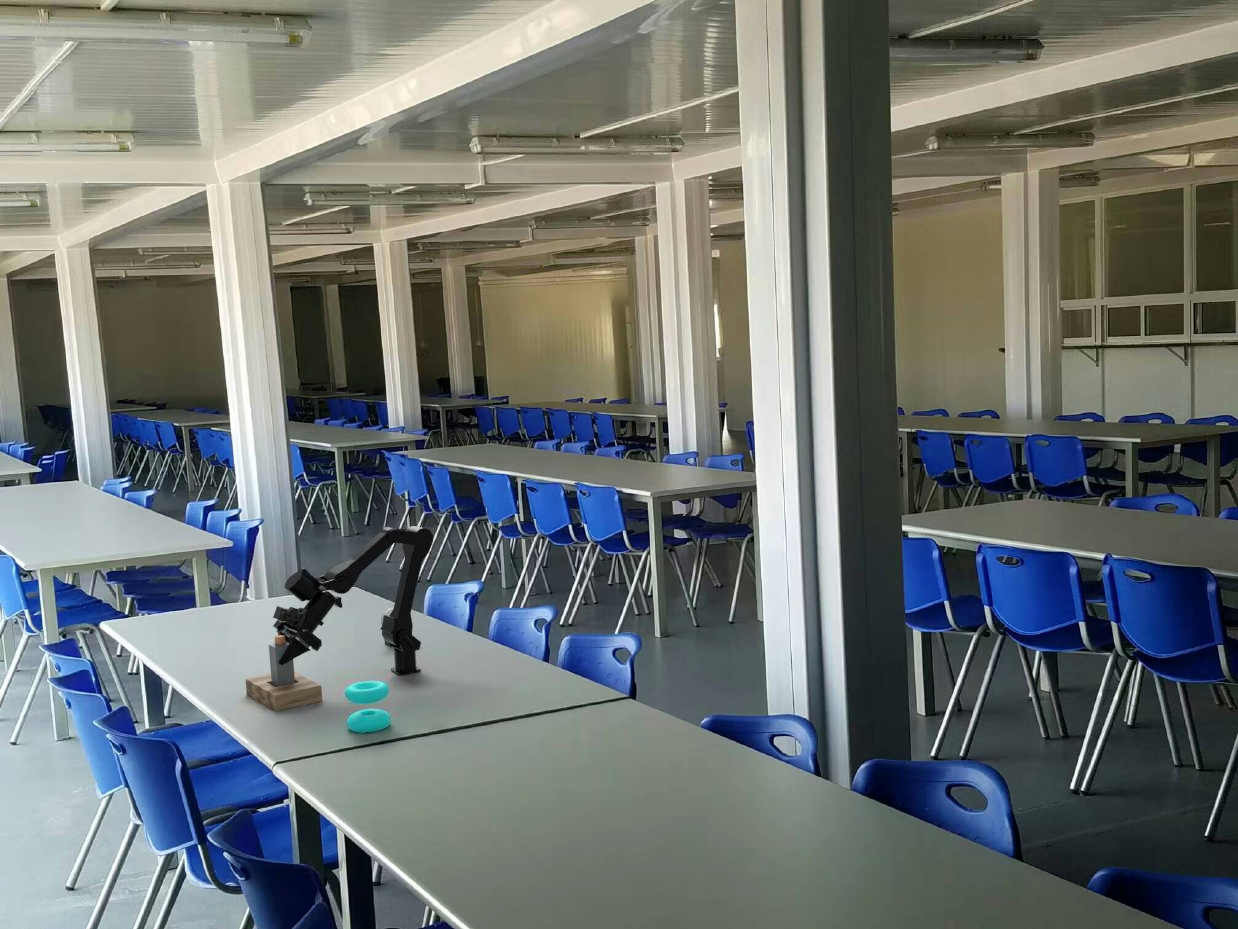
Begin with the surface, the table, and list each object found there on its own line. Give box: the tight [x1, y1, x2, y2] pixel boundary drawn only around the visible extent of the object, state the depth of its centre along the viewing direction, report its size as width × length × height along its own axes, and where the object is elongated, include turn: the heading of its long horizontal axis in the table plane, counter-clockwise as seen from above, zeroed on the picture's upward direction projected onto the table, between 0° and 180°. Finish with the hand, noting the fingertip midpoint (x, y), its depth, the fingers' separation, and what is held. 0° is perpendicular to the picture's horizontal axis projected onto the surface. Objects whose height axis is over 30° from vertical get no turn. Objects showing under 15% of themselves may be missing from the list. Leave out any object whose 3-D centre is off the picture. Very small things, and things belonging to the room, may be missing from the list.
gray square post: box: [268, 635, 295, 687], centre depth 309 cm, size 4×4×13 cm
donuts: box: [344, 680, 392, 734], centre depth 283 cm, size 10×10×10 cm
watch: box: [380, 606, 394, 647], centre depth 360 cm, size 6×8×11 cm
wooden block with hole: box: [245, 671, 323, 712], centre depth 310 cm, size 20×12×4 cm, turn 37°
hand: (276, 662), depth 308 cm, fingers closed on gray square post, 4 cm apart
